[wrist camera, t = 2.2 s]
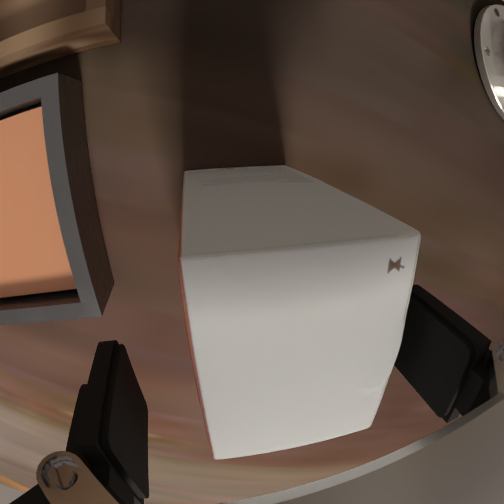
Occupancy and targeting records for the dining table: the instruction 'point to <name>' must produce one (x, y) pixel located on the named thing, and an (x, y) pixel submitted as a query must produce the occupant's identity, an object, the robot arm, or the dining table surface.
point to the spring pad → (28, 212)
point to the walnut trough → (53, 30)
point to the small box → (289, 305)
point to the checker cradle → (64, 203)
